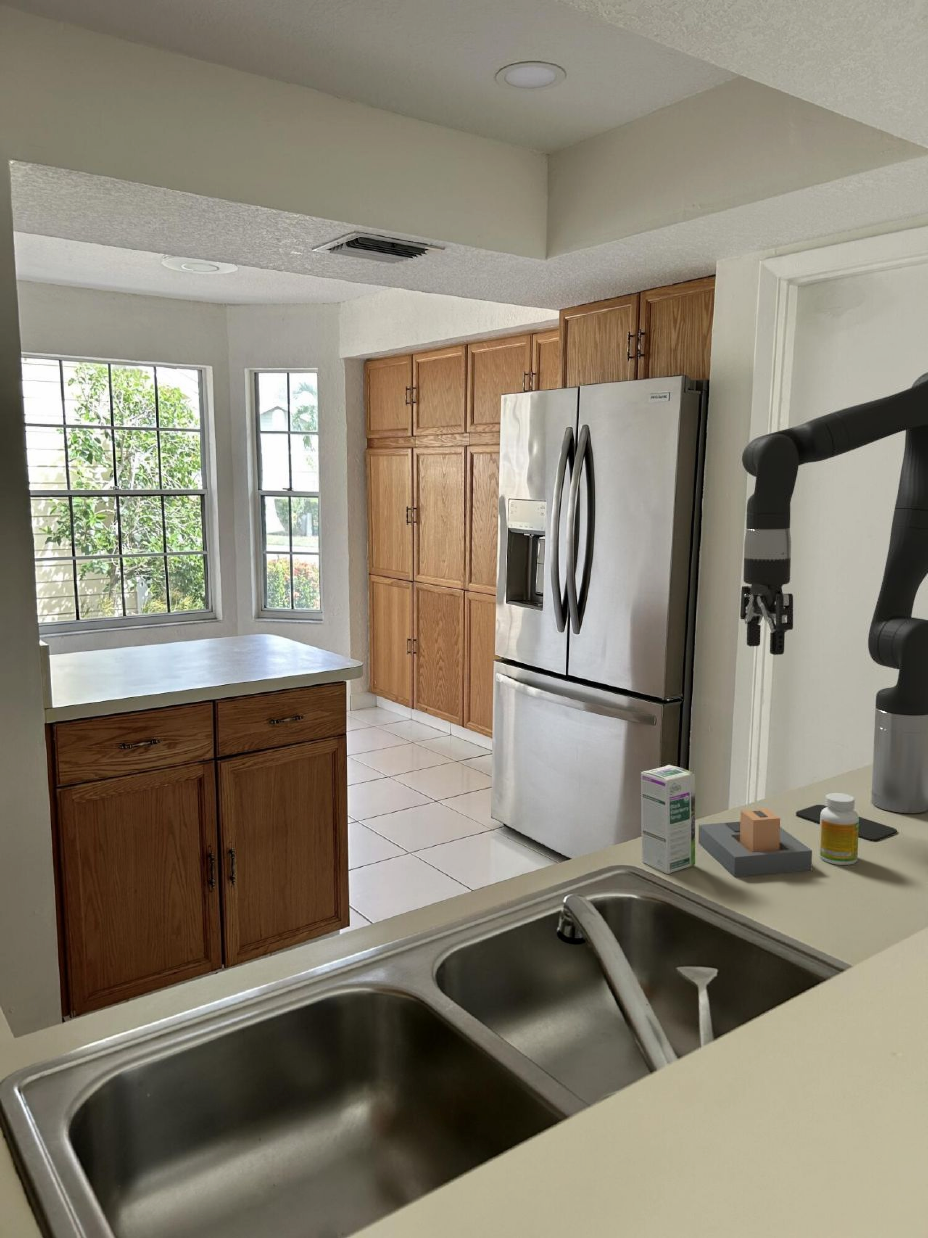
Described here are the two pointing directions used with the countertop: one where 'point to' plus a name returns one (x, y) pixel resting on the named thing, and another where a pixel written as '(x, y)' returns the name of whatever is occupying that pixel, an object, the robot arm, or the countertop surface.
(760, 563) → the robot arm
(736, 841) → the plate
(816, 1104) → the countertop surface
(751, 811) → the block
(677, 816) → the syrup box
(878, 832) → the phone
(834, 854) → the supplement bottle
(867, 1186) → the countertop surface
